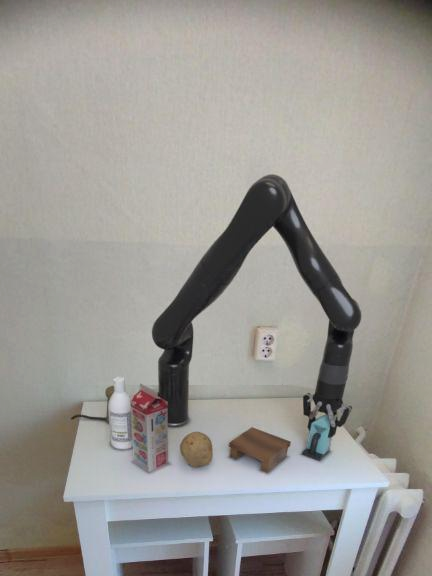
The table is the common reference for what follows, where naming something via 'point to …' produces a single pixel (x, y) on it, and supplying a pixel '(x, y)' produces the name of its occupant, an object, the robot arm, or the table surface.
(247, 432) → the stand
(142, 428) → the milk carton
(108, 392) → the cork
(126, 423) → the bath foam
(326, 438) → the iron
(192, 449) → the natural sponge
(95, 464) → the table surface
